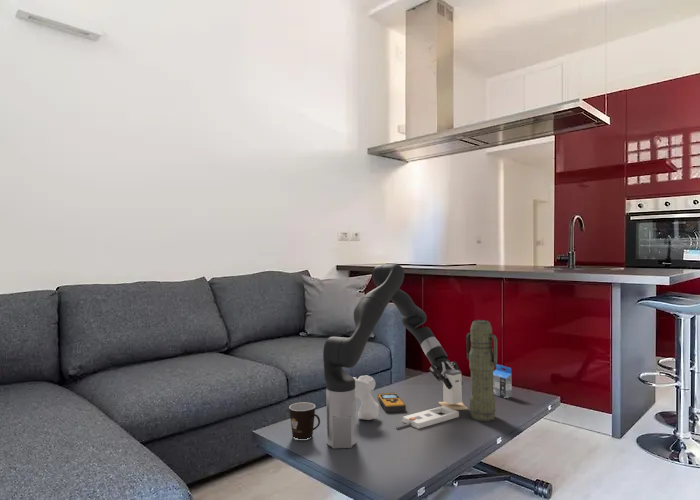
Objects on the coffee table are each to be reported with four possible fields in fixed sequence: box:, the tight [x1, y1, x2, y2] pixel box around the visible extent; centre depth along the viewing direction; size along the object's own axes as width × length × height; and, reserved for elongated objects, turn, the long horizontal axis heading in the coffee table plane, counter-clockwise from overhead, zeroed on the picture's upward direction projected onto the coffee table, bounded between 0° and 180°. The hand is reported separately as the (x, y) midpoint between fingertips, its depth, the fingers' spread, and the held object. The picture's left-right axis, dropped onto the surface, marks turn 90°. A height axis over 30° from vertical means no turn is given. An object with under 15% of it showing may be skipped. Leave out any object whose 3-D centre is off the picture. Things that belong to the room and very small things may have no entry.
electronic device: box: [377, 392, 407, 413], centre depth 176 cm, size 8×16×3 cm, turn 8°
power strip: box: [395, 405, 460, 430], centre depth 159 cm, size 8×26×2 cm, turn 124°
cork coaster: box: [438, 401, 469, 411], centre depth 175 cm, size 9×9×1 cm
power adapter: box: [442, 369, 463, 404], centre depth 175 cm, size 5×5×12 cm
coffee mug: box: [288, 401, 321, 439], centre depth 145 cm, size 12×9×10 cm
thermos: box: [465, 319, 499, 422], centre depth 163 cm, size 9×12×35 cm
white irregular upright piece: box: [352, 374, 380, 421], centre depth 162 cm, size 10×11×15 cm
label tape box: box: [493, 363, 513, 399], centre depth 188 cm, size 9×4×12 cm, turn 28°
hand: (455, 386), depth 173 cm, fingers closed on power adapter, 5 cm apart
